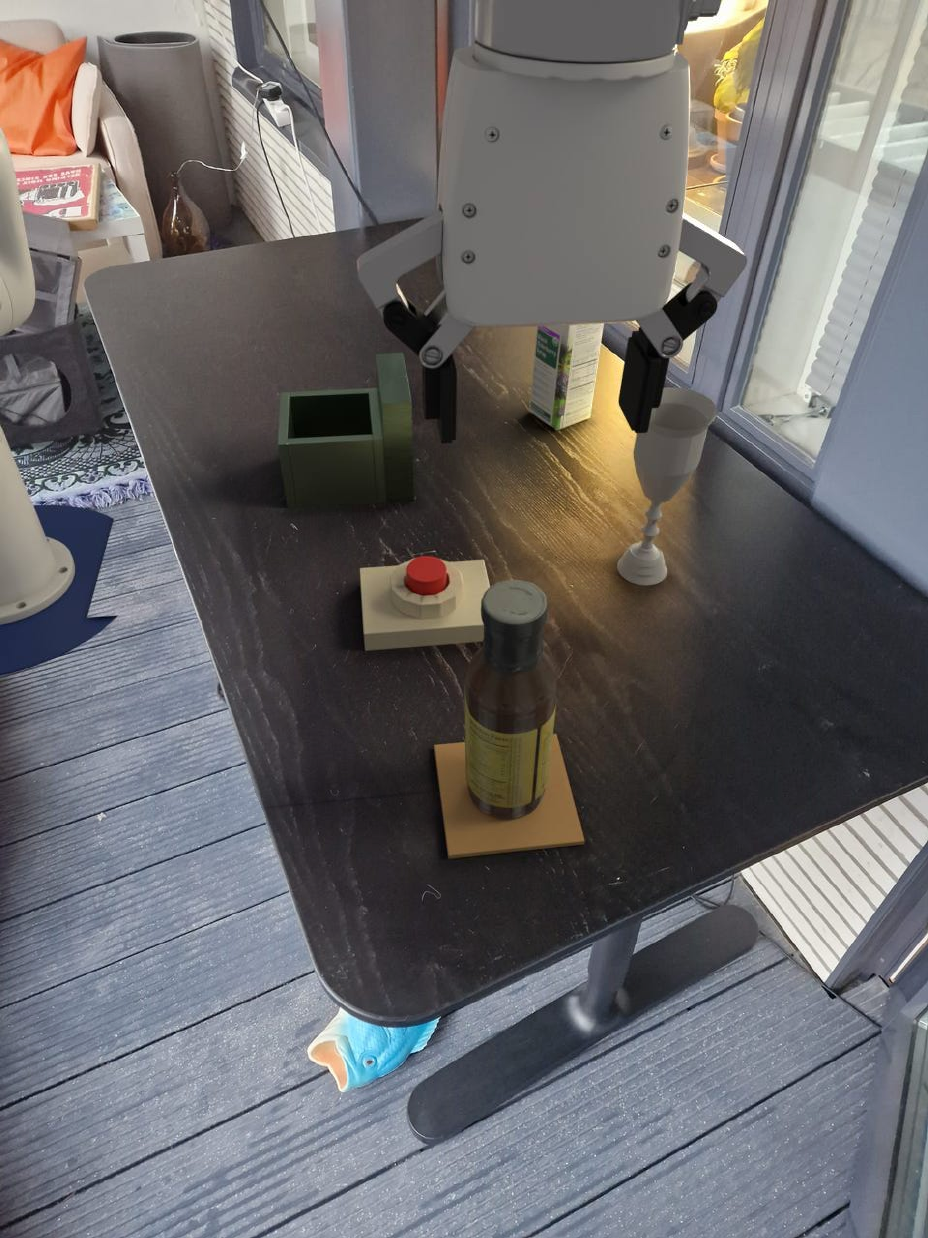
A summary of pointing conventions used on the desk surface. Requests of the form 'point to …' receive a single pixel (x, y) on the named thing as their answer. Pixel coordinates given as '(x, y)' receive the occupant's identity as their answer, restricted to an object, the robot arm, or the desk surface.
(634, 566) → the chalice
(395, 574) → the control block
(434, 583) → the button
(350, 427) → the green open box holder
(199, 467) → the desk surface
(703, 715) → the desk surface
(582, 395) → the syrup box
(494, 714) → the sauce bottle
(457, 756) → the mat
